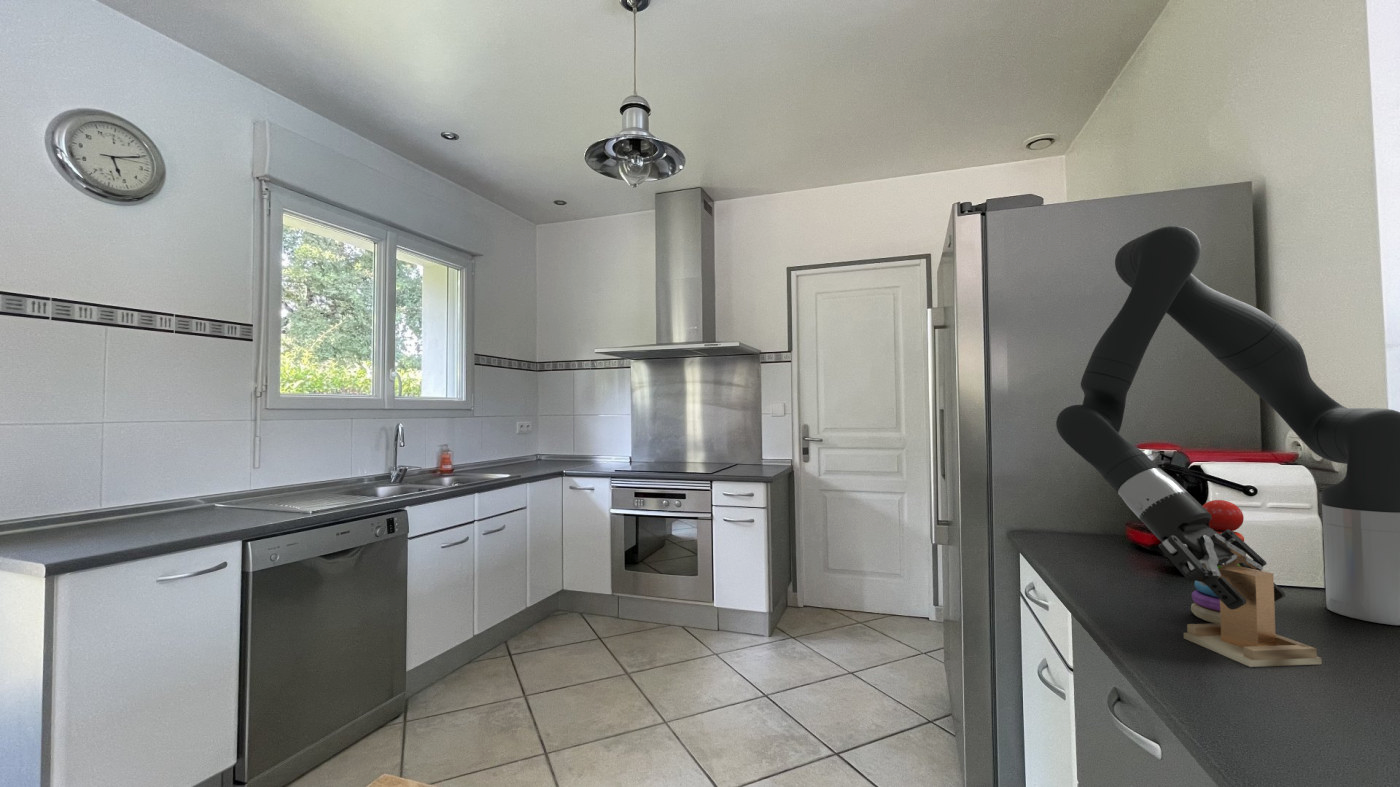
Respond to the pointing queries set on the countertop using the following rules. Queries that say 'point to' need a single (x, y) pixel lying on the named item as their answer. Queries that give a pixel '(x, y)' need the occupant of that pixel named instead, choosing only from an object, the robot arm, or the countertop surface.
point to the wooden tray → (1253, 648)
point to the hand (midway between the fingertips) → (1259, 603)
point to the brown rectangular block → (1249, 608)
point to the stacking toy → (1204, 597)
